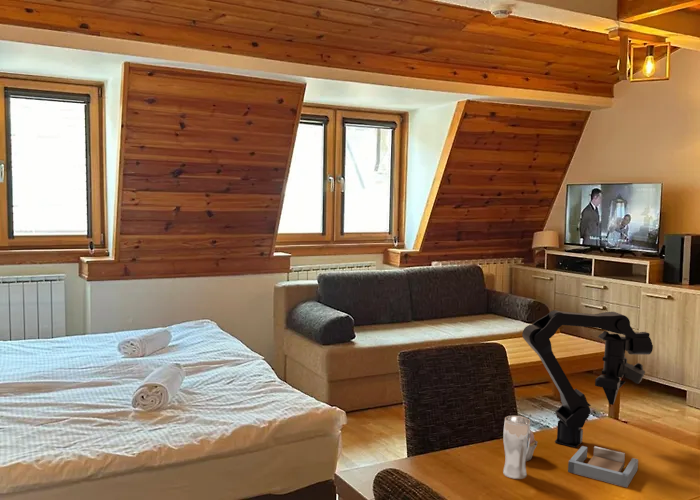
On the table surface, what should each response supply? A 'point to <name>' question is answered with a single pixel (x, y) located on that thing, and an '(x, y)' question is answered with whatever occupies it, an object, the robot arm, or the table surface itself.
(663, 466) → the table surface
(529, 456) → the cupcake
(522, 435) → the beer glass
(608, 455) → the l-shaped bracket
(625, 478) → the bay
